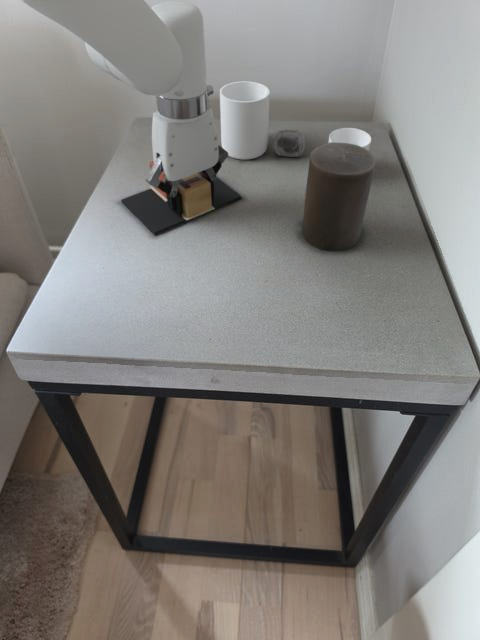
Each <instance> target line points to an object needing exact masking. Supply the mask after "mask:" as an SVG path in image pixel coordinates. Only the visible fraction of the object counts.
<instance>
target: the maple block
mask: <svg viewBox="0 0 480 640" xmlns="http://www.w3.org/2000/svg"><path fill="white" fill-rule="evenodd" d="M177 193H178V194H179V195H180V196H181V204H182V213H183V214H184V215H185V216H186V217H187V218H189V217H192V216H194V215H196V214H199V213H201V212H204V211H206V210H208V209H211V208H212V201H211V183H210V182H209V181H207V180H206V179H205V178H204V177H202V176H201V175H200V174H198V173H196V174H193V175H190V176H188V177H185V178H182V179H180V183H179V187H178V192H177Z"/></svg>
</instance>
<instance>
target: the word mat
mask: <svg viewBox="0 0 480 640" xmlns="http://www.w3.org/2000/svg"><path fill="white" fill-rule="evenodd" d="M198 174H200V175H202V172H198ZM213 197H214V202H212V208H211V209H208V210H206V211H204V212H201V213H199V214H196V215H194V216H192V217H189V218H187V217H186V216H185V215H184V214H183V213H182V215H181V216H178V215H177V214H176V213H175V212H174V211H171V210H170V209H169V207H168V202H167V199H166V198H165V197H164V196H163V195H162V194H160V193H159V192H158V191H157V190H156V189H155V188H154V187H153V186H152V185H150V186H149V189H148V188H147V189H146V190H144V191H141V192H138V193H135V194H133V195H130V196H127V197H125V198H122V199H121V203H122V204H123V205H124V207H126V208H127V210H129V211H130V212H131V214H132V215H134V216H135V217H136V219H138V220H139V221H140V222H141V223H142V224H143V226H145V228H147V229H148V230H149V232H150V233H151V234H153V235H154V236H157V235H160V234H161V233H164V232H166V231H169V230H171V229H174V228H176V227H178V226H180V225H182V224H185V223H187V222H190V221H192V220H195V219H197V218H199V217H201V216H205V215H207V214H209V213H211V212H213V211H215V210H219V209H221V208H223V207H226V206H228V205H230V204H232V203H235V202H237V201H239V200H242V195H241V194H239V193H238V192H236V191H235V190H234V189H233V188H231V187H230V186H229V185H227V183H225V182H223V181H222V180H221V179H220V178H219V177H217V178H216V180H215V181H214V194H213Z"/></svg>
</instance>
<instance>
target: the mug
mask: <svg viewBox="0 0 480 640" xmlns="http://www.w3.org/2000/svg"><path fill="white" fill-rule="evenodd" d="M270 93H271V92H270V89H269V88H268V86H267V85H265V84H262V83H259V82H255V81H249V80H245V81H244V80H243V81H234V82H230V83H227V84H225V85H223V86H222V87H221V88H220V90H219V110H220V111H219V112H220V113H219V115H220V139H221V140H220V141H221V143H220V144H221V147H222V148H223V149H224V150H226V151H227V152H228V156H227V157H230V158H231V159H236V160H243V161H247V160H248V161H249V160H253V159H257V158H259V157H261V156H263V155H264V154H265V153H266V151H267V149H268V142H269V121H270V120H269V119H270V97H271V96H270Z"/></svg>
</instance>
